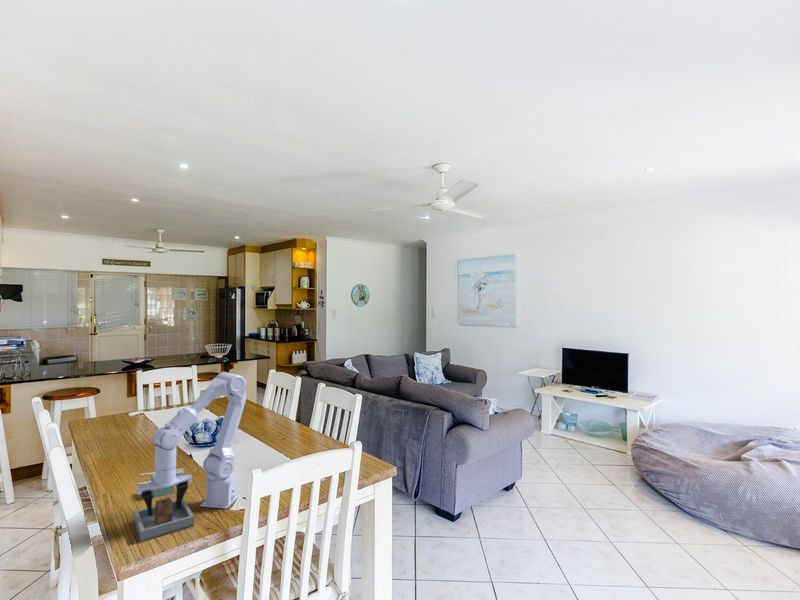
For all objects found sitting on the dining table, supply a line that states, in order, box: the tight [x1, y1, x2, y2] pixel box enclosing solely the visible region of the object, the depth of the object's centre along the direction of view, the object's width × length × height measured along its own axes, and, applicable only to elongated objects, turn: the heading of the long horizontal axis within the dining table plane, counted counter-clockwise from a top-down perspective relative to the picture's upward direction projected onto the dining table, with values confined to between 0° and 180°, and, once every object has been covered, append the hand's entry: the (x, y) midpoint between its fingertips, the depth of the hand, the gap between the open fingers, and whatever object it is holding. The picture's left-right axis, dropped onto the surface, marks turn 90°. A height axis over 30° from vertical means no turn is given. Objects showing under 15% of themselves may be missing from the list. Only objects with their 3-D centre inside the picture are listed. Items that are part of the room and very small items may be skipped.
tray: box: [133, 498, 195, 543], centre depth 126 cm, size 14×14×3 cm
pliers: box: [137, 468, 185, 486], centre depth 159 cm, size 10×2×15 cm
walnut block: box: [155, 497, 173, 525], centre depth 126 cm, size 4×4×6 cm
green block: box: [150, 474, 174, 499], centre depth 146 cm, size 6×6×8 cm
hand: (164, 510), depth 126 cm, fingers open, 7 cm apart
